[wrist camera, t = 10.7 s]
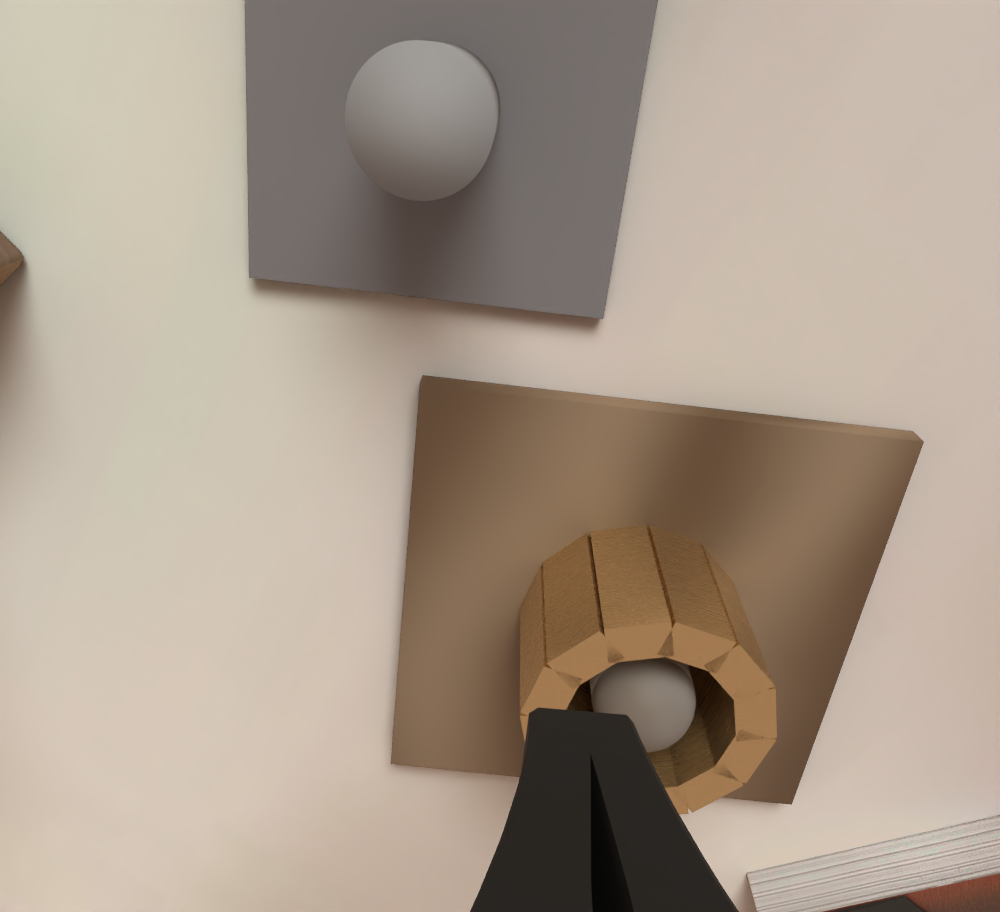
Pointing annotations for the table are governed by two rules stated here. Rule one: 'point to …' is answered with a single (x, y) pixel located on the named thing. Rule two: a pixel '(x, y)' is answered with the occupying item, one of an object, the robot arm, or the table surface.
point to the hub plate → (624, 503)
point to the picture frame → (892, 875)
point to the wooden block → (8, 257)
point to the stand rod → (443, 145)
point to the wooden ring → (652, 648)
